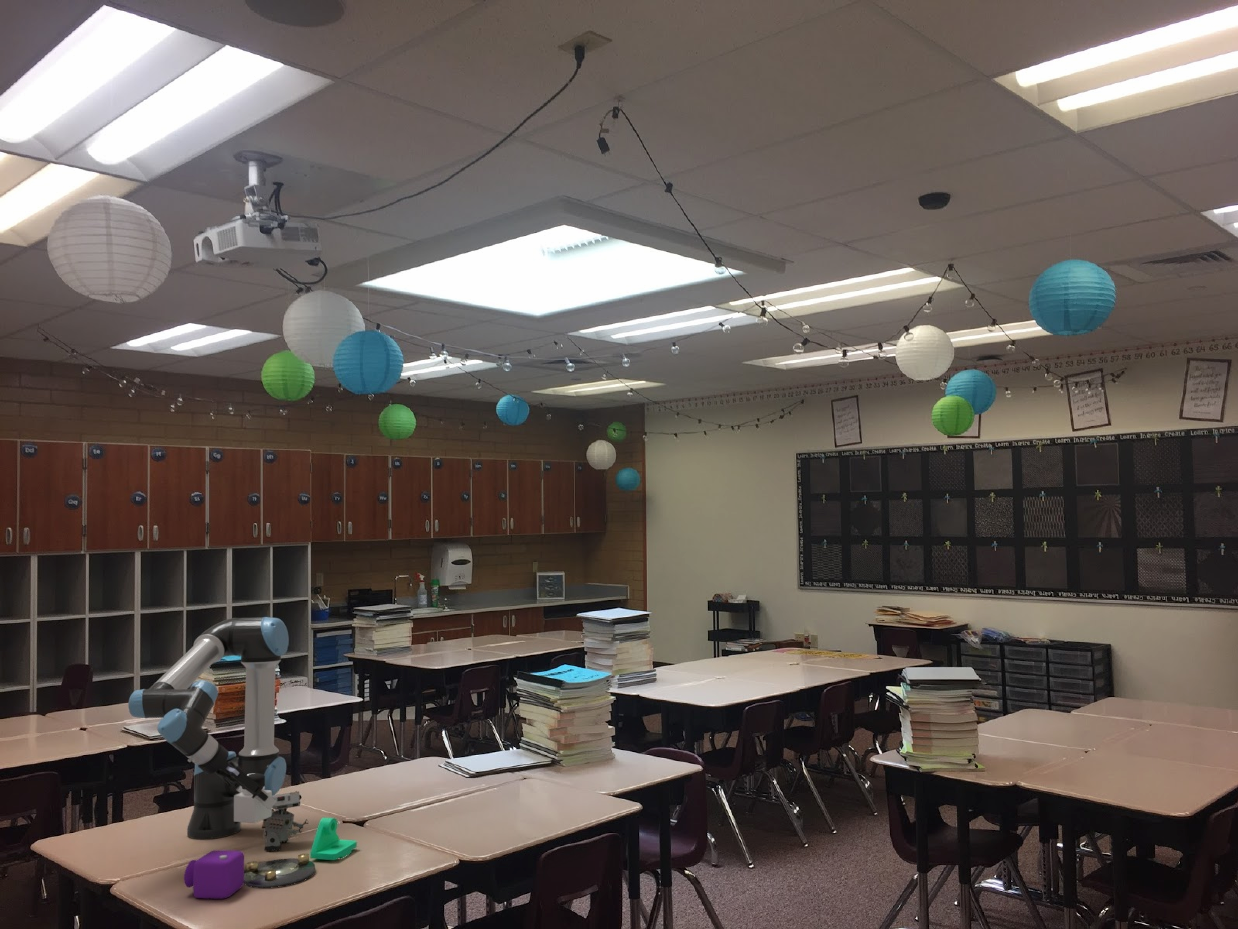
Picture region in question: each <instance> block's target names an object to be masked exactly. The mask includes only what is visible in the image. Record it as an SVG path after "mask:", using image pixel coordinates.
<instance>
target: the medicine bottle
mask: <svg viewBox="0 0 1238 929" xmlns="http://www.w3.org/2000/svg"><path fill="white" fill-rule="evenodd" d="M247 775H248V776H249V777H250V778H251V779H253V780H254V781H255V782H257V783H258V784H259V785H260V786H262V787H263V790H264V789H265V776H264V775H263V774H260V773H252V774H247ZM241 791H242V793H239V794H236V795H234V822H241V823H243V824H244V823H247V824H257V823H259V822H261V821H262V822H263V820H264V819H266V818H269V817H271V816H272V809H273V808H271V809H270V810H269V809H267V808H266V807H265V806H264V805H263V804H262V803H260V802H259V801H258V800H257V799H256V798H255V797H254V799H253V798H252V796H253V794H251V793H250V792H249V791H247V790H246V789H244V788H243V787H242V786H241ZM264 791H265V792H266V793H267V794H269V795H270V796H271V797H272V791H271V790H264Z"/></svg>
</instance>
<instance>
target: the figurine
mask: <svg viewBox="0 0 1238 929" xmlns="http://www.w3.org/2000/svg"><path fill="white" fill-rule="evenodd" d="M272 798H273V799H274V800H276V801H277V802H276V803H275V804H274V805H273V807H272V816H271V817H269V818H266V819H264V820H262V825H261V828H262V829H264V831H263V836H262V838H264V839H265V846H264V850H263V851H266V852H272V851H273V852H279V851H280V850H281V849H282V848H281V847H282V846H281V844H284V843H285V844H286V843H288V842H289V839H290V838H291V835H293V836H295V835H296V834H297V833H300V834H301V833H302V832H303V830H302V829H303V828H304V826H305V825H308V824H309V820H308V819H305V821H304V822H303V823H298V822H297V821H294V818H295V814H294V813H292V812H290V811H287V809H288V808H289V809H290V808H297V807H300V805H301V799H302V795H301V794H300V790H299V791H298V790H296V791H293V792H292V791H291V792H286V793H281V794H280V793H279V794H275V795H272ZM293 827H294V829H292V828H293ZM296 827H297V828H298V829H295V828H296Z"/></svg>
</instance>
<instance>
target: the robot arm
mask: <svg viewBox="0 0 1238 929" xmlns="http://www.w3.org/2000/svg"><path fill="white" fill-rule="evenodd" d="M289 638H290V637H289V632H288V628H287V626H286V625H285V623H284V621H283V620H281V619H280V618H278V617H269V616H263V617H232V618H227V619H224V620H223V621H220V622H218V623H216V624H214V625H212V626H211V627H209V628H208V629H206V630H205V631H203V632H202V633H201V634H200V635H199V636H198V637H197V638H195V640H194V642H193V646H191V648H190V649H189V650H188V651H186V653H185V654H183V656H181V657H180V658H179V659H178V660H177V661H176V662H175V663H174V664H173V665H172V666H171V667H169V669H168V670H167V671H165V673H164V674H162V676H160V677H159V679H158V680H157V681H156V682H154V683H153V685H151V686H150V687H149V688H147V689H146V688H143V689H137V690H134V691H133V692H132V693H131V694H130V697H129V699H128V704H127V707H128V712H129V714H130V715H131V716H132V717H134V718H139V719H141V718H142V719H160V720H159V722H158V724H157V728H156V729H157V732H158V734H160V735H161V737H163V739H164V740H165V741H166V742H167V743H169V744H170V745H172V746H173V747H174V748H175V749H176V750H178V752H180V753H181V754H183V755H184V756H185V757H187V758H188V759H187V762H189V763H191V762H192V763H193V764H194V773H193V782H194V784H193V789H194V790H193V810H192V814H191V816H190V819H189V822H188V826H187V829H186V830H187V831H186V832H187V833H186V834H187V837H188V838H190V839H194V838H196V840H210V839H212V840H213V839H218V838H224V837H228V836H231V835H235V834H237V833H238V832H239V831H241V829H242V822H234V795H236V794H239V793H242V791H241V786H242V787H243V788H244V789H246V790H247V791H249V792H250V793H251V794H253V796H252V798H253V799H254V797H255V798H256V799H257V800H258V801H259V802H260V803H262V804H263V805H264V806H265V807H266V808H267V809H269V810H270V809H271V808H272V807H273V805H274V804H275V803H276V802H277V801H276V800H274V799H273V798H272V797H271V796H270V795H269V794H267V793H266V792H265V791H264V790H271V791H272V795H277V793H278V792H279V791H280V790H281V788H282V786H283V785H284V781H285V778H286V773H287V762H286V759H285V758H284V757H282V756H280V750H279V748H278V747H277V746H276V745H275V715H276V714H275V707H276V706H275V704H276V702H275V701H276V698H275V697H276V667H277V665H278V664H279V663H280V662H281V661H282V656H283V655H285V654H286V653H287V651H288V647H289V643H290V642H289V640H290V639H289ZM232 656H234V657H240V663H241V664H242V665H243V666H244V668H245V690H244V691H245V693H244V694H245V695H244V696H245V698H244V739H243V740H244V741H243V742H244V743H243V745H244V746H243V748H242V749H240V751H239V752H238V757H237V754H236V752H235V751H233V750H231V751H228V749H226V748H225V747H224V746H223V745H222V744H220V743H219V742H218V741H217V740H216V738H214V737H213V736H212V735H211V734H209V733H208V732H207V731H206V730H205V729H203V728H204V727H203V725H204V723H205V721H206V720H207V718H208V716H209V714H210V712H211V710H212V708H213V707H214V706H215V702H216V700H217V698H218V695H219V690H218V688H217V686H216V685H215V684H214V683H213V682H211V681H208V680H204V679H203V680H202V679H200V680H199V679H198V678H199V677H201V676H202V675H203V673H204V672H205V671H206V670H207V669H208V668H209V667H210V666H211V665H213V664H215V663H218V662H220V661H221V660H222V659H223V658H224V657H225V658H226V657H232ZM196 680H197V681H196ZM252 773H260V774H263V775H264V776H265V789H264V790H263V787H262V786H260V785H259V784H258V783H257V782H255V781H254V780H253V779H251V778H250V777H249V776H248V775H247V774H252ZM272 809H273V808H272Z"/></svg>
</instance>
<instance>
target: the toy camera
mask: <svg viewBox="0 0 1238 929" xmlns="http://www.w3.org/2000/svg"><path fill="white" fill-rule="evenodd" d="M244 871H245V854H244V852H243V851H241V850H212V851H210V852H208V853H206V854H204V855H203V856H202V857H200V858H198V859H197V860H196V859H192V860H190V861H189V863H188V864H187V866H186V867H185V871H184V875H183V881H184V882H183V883H184V885H185V886H186V888H192V887H193V888H192V889H193V891H192V892H193V896H194V898H197V899H209V898H210V899H211V900H212V899H215V900H217V899H220V900H222V899H227V898H229V897H231V896H232V895H233V894H234V893H236V892H237V891H239V890H240V889H241V888H242V887H243V885H244V883H243V882H244Z"/></svg>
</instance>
